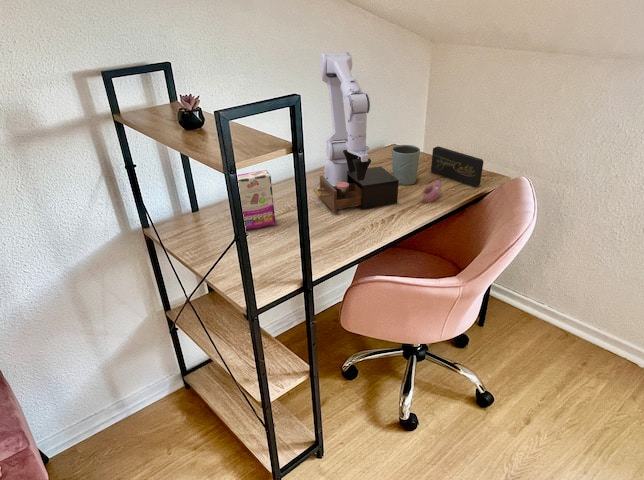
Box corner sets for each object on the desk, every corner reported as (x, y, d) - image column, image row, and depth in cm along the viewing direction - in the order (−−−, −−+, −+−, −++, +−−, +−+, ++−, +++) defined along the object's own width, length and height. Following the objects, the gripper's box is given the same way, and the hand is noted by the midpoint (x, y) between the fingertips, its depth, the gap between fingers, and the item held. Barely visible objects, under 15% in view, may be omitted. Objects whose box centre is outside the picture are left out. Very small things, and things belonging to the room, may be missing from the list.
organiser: (362, 209, 161) (362, 185, 157) (346, 193, 172) (346, 171, 168) (397, 203, 165) (398, 180, 161) (379, 188, 176) (380, 166, 172)
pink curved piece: (432, 207, 166) (444, 191, 162) (421, 201, 166) (432, 184, 162) (434, 196, 174) (445, 180, 170) (423, 189, 174) (434, 173, 170)
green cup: (417, 186, 178) (419, 154, 171) (389, 184, 179) (390, 152, 173) (417, 176, 186) (420, 145, 180) (391, 174, 187) (392, 143, 181)
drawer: (323, 215, 157) (322, 192, 153) (310, 198, 168) (309, 177, 164) (369, 207, 162) (370, 185, 158) (353, 191, 173) (354, 170, 169)
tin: (332, 199, 164) (332, 184, 162) (341, 194, 167) (341, 180, 165) (343, 202, 162) (343, 188, 159) (351, 198, 165) (351, 183, 162)
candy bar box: (271, 218, 156) (266, 169, 147) (275, 225, 152) (271, 175, 143) (236, 225, 152) (229, 174, 143) (240, 232, 148) (233, 180, 140)
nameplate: (430, 172, 190) (433, 146, 184) (433, 170, 191) (436, 145, 185) (476, 187, 177) (480, 161, 171) (479, 186, 178) (483, 159, 172)
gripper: (377, 139, 148) (376, 182, 155) (360, 126, 160) (359, 166, 167) (356, 142, 146) (355, 185, 153) (340, 128, 158) (340, 169, 165)
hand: (356, 175), depth 160 cm, fingers open, 7 cm apart
